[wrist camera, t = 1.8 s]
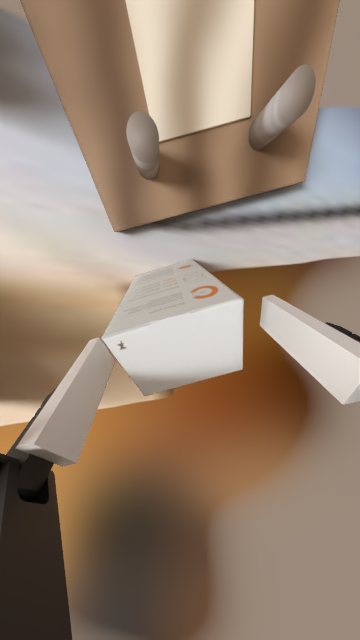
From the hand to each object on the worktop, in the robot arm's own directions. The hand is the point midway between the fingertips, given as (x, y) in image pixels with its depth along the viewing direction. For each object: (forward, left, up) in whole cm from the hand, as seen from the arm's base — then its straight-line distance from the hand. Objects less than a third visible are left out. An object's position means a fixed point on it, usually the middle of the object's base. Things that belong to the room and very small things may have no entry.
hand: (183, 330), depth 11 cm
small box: (0, 0, -10) cm, 10 cm away
